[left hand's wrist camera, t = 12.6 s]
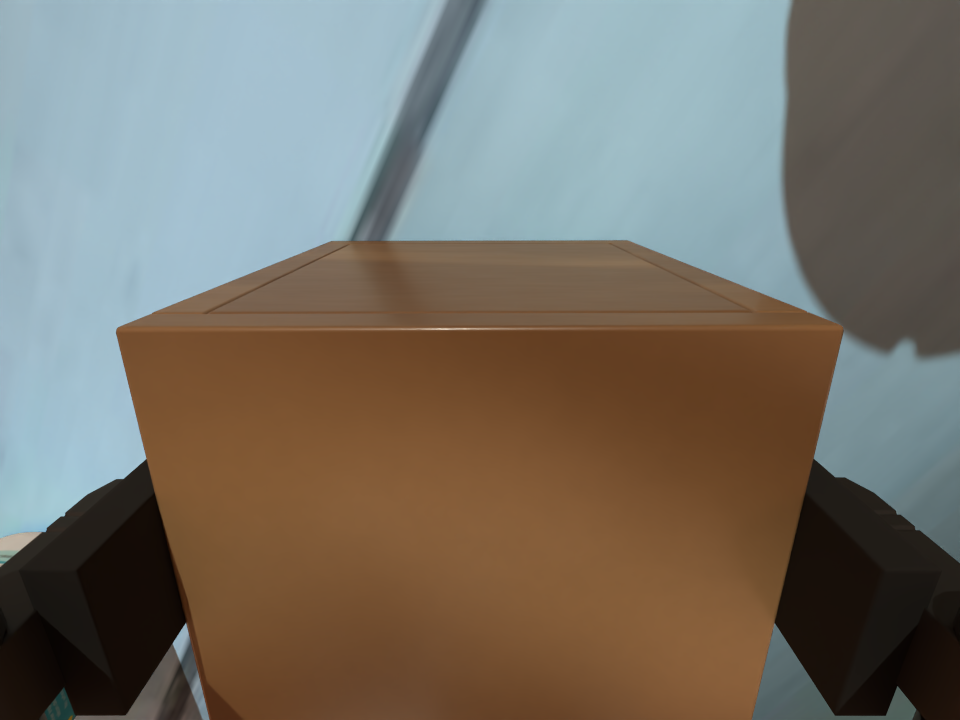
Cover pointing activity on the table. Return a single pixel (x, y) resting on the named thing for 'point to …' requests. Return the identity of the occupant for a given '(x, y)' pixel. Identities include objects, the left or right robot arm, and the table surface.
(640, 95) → the table surface
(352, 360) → the cabinet
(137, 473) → the left robot arm
